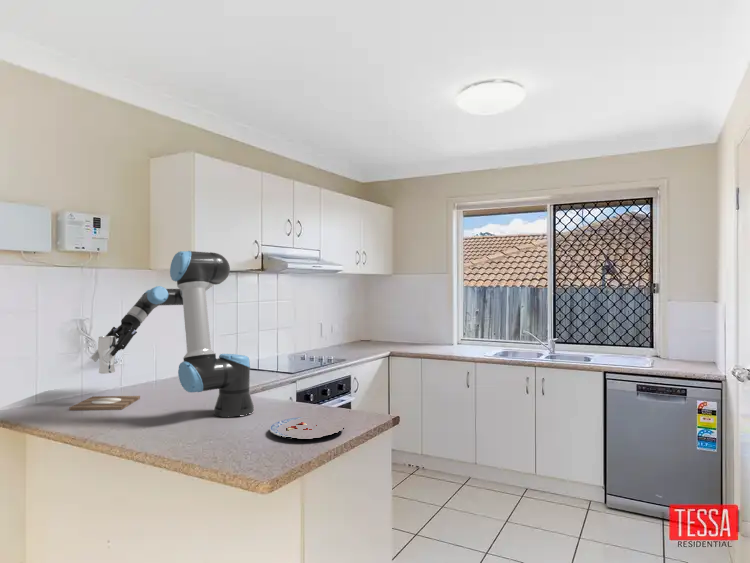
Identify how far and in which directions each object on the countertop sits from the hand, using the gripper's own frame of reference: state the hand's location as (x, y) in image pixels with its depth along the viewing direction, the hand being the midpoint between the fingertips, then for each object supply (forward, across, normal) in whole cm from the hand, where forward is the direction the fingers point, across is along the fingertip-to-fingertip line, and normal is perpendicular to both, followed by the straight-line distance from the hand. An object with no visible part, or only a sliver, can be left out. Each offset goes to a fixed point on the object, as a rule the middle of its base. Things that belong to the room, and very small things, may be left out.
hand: (99, 360), depth 210 cm
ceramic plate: (+7, -98, -21) cm, 100 cm away
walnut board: (+11, 0, -16) cm, 19 cm away
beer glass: (+2, 0, -6) cm, 7 cm away
